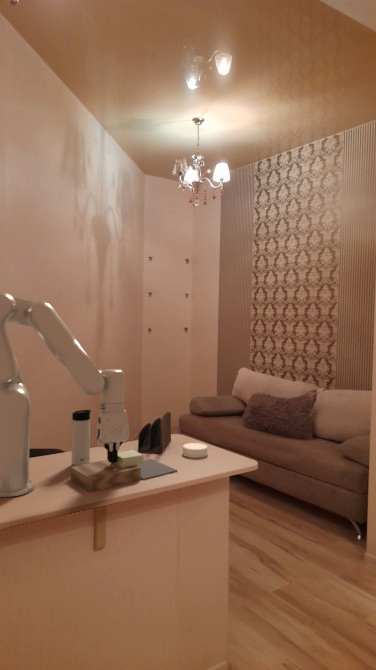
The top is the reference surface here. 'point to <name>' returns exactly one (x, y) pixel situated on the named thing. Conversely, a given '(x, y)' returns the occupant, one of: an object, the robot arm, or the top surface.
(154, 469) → the mat
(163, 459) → the top surface
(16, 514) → the top surface
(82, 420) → the travel mug
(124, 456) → the tile
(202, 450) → the white short cylinder
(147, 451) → the letter holder
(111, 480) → the riser
